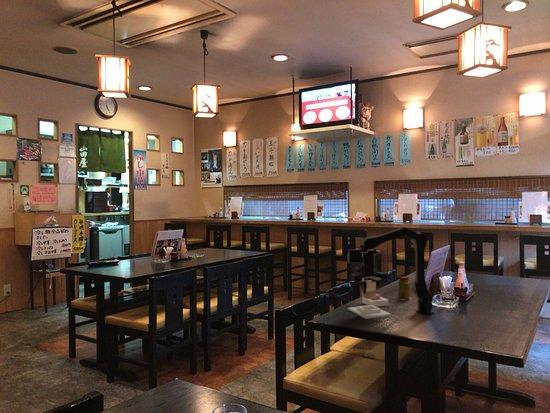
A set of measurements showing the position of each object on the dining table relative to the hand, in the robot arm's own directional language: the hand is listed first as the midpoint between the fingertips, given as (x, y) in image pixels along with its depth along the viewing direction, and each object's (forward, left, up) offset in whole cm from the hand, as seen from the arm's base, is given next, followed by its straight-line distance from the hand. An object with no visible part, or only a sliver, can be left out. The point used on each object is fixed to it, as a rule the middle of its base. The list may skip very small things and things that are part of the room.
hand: (369, 293), depth 216 cm
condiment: (+21, -34, -10) cm, 41 cm away
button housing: (+14, -12, -9) cm, 21 cm away
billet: (0, 0, -2) cm, 2 cm away
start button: (+14, -12, -8) cm, 20 cm away
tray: (0, 0, -9) cm, 9 cm away
